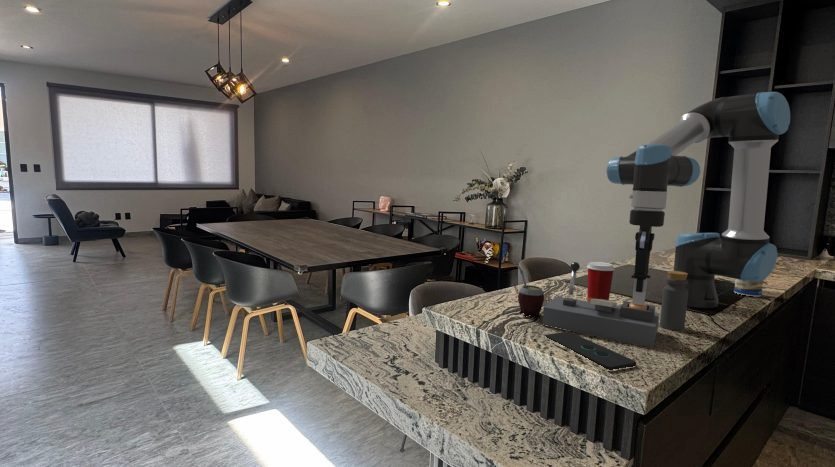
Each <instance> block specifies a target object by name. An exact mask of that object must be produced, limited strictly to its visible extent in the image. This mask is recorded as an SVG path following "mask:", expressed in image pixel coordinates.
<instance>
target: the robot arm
mask: <svg viewBox="0 0 835 467" xmlns="http://www.w3.org/2000/svg"><path fill="white" fill-rule="evenodd" d="M790 124H791V110H790V105H789V102H788V101H787V98H786V97H785V96H784V95H783V93H780V92H778V91H767V92H765V91H763V92H753V93H748V94H747V93H746V94H739V95H733V96H723V97H722V96H721V97H719V98H714V99H712V100H709V101H707V102H705V103H703V104H700V105H699V106H697V107H695V108H693V109H691V110H690V111H689V110H688V112H687V113H685V114H683V115H682V116H681V117H679V119H678V121H677V123H676V124H674V125H672V126H671V127H669V128H668V129H667V130H665V131H664V132H662V133H661V134H659V135H658V136H656V137H654V138H653V139H652V140H650V141H649V142H647V143H645V144H642V145H641V144H640V145H639V146H638V147H637V148H636V150H635V151H634V152H632V153H630V154H629V155H627V156H617V157H612V158H611V159H610V160H609V162H608V163H607V166H606V176H607V179H608V181H609V182H610V183H612V184H617V185H622V186H624V185H633V186H632V192H631V193H632V194H630V195H629V197H628V198H629V199H631V203H630V206H631V207H632V208H633V209H631V210H630V213H629V224H630V225H632V226H639V228H638V229H639V230H638V231H636V232H635V236H634V239H635V248H634V249H635V250H634V251H635V261H634V273H633V274H632V275H631V279H633V280H634V281H633V289H632V300H631V302H632V304H637V305H644V304H646V303H645V302H646V293H647V286H648V285H647V284H648V279H651V275H648V274H649V265H650V257H651V251H652V250H653V242H654V240H655V237H656V236H655V233H652V231H653V230H652V228H653V227H655V228H661V227H663V226H664V222H665V214H666V213H665V211H663V210H665V209H666V207H667V198H668V187H678V188H681V187H682V188H683V187H689V186H691V185H692V184H694V183H695V182H697V181H698V179H699V177H700V174H701V166H700V164H699V162H698V161H697V160H696V159H694V158H692V157H689V156H686V155H679V154H680V153H682V152H684V151H685V150H686V149H687V148H689V147H690V146H692V145H693V144H698V143H701V142H704V141H705V140H707V139H712V138H725V137H726V138H728V144H729V145H731V147H732V148H733V149H734V150H733V161H732V162H733V163H732V175H731V186H730V200H729V214H728V226H727V229H726V230H725V231H724V232H722V233H721V235H720V233H718V232H690V233H689V232H686V233H685V232H684V233H680V234H679V235H678V236H677V237H676V243H675V245H674V246H675V251H674V252H675V253H674V263H673V271H680V272H685V273H688V275H687V278H686V280H688V284H686V285H685V288H686V289H687V290H688V300H687V307H690V308H697V309H700V308H701V309H715V308H714V307H716V308H717V307H718V305H719V297H718V293H717V289H716V284H715V276H719V277H724V278H729V279H730V278H731V279H739V280H742V281H752V282H761V281H763V282H764V281H765V280H766V279H767V278H769V276H770V275H771V273H772V272H773V270H774V268H775V266H776V263H777V259H778V250H777V249H778V248H777V246H776V245H775V244H773V243H770V236H769V235H768V234H767V232H765V230H764V228H765V217H766V207H767V198H768V196H767V195H768V186H769V175H770V174H769V173H770V163H771V152H772V151H771V149H772V147H773V146H774V145H775V144H776V143H778V142H779V136H780V135H783V134H785V133H786V132H787V131H788V130H789V126H790Z"/></svg>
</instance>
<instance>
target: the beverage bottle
mask: <svg viewBox="0 0 835 467" xmlns="http://www.w3.org/2000/svg"><path fill="white" fill-rule="evenodd" d="M763 285H764V280H763V281H761V282H752V281H742V280H739V279H735V282H734V288H733V292H734V293H735V294H736V293H737V295H739V294H741V295H740V296H742V295H746V296H745V297H748V296H753V297H752V298H759V297H761V296H762V294H763Z"/></svg>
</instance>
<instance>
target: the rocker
mask: <svg viewBox="0 0 835 467" xmlns="http://www.w3.org/2000/svg"><path fill="white" fill-rule="evenodd" d="M590 304H596V305H602V306H608V307H616V306H618V301H613V300H610V299H609V300H604V299H591V300H590Z"/></svg>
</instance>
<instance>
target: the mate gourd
mask: <svg viewBox="0 0 835 467" xmlns="http://www.w3.org/2000/svg"><path fill="white" fill-rule="evenodd" d="M512 263H513V264H514V265H515V267H517V269H518V270H519V273H520V275H521V278H522V282H523V285H522V286H521V287H520V289H519V291H518V294H517V300H518V304H519V309H520V311H519V314H521V313H524V314H522V317H523V316H525V317H526V316H529V315H531V316H529V317H533V316H535V317H534V318H537V317H540V318H541V315H540V314H541V313H542V312H541V311H542V308H543V306H544V305H543V304H544V302H545V301H544V300H545V294H544V293H545V292H544V291H543V289H542V288H541V287H540V286H536V285H527V282H526V279H525V276H524V270H523V269H522V268H521V266H520V265H518V264H516V263H515V262H512ZM526 318H527V317H526Z"/></svg>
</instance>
